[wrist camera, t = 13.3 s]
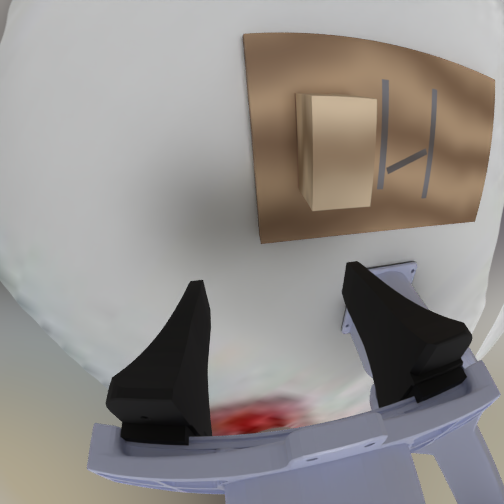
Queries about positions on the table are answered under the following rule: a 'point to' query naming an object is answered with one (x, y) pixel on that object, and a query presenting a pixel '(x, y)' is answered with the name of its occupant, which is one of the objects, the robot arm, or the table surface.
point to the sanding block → (335, 149)
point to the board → (387, 132)
